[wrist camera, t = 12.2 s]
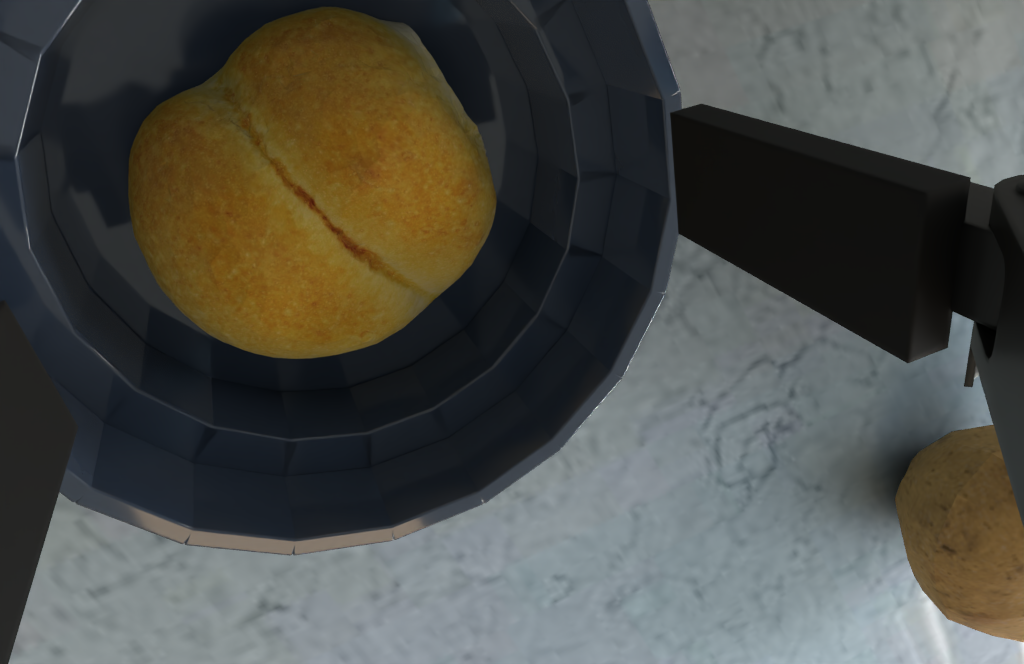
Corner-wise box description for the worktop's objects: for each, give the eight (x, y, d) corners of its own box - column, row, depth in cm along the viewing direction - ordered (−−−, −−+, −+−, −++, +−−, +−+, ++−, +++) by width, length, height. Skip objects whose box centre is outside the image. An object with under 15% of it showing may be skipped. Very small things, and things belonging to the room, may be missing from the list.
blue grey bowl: (533, -215, 19) (660, -284, 14) (604, 331, 26) (701, 416, 21) (-199, -98, 15) (-402, -132, 10) (138, 499, 23) (122, 651, 18)
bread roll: (61, 179, 18) (29, 227, 15) (350, -49, 18) (385, -54, 15) (293, 390, 22) (309, 464, 19) (522, 205, 23) (579, 245, 19)
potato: (963, 329, 34) (1154, 418, 27) (1035, 473, 41) (1197, 570, 35) (809, 479, 34) (959, 603, 27) (908, 594, 42) (1044, 714, 35)
